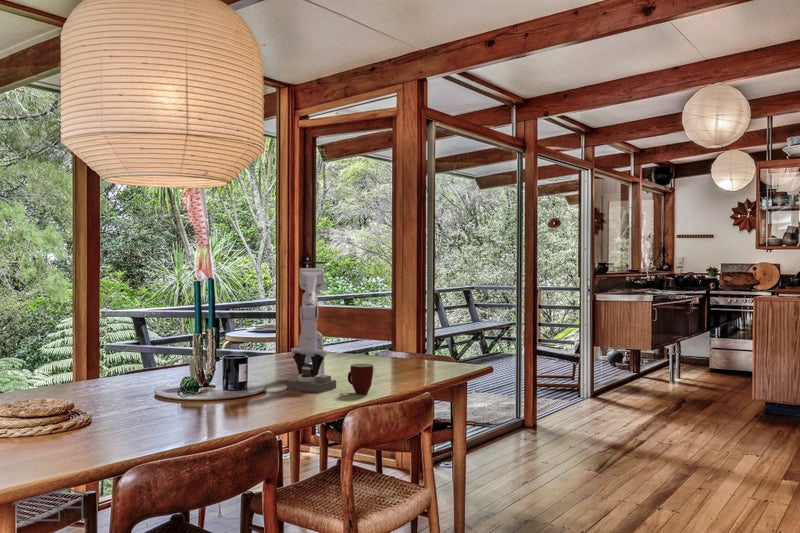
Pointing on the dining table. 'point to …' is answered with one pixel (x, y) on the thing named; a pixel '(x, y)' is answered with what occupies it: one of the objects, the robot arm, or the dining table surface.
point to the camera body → (312, 383)
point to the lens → (307, 370)
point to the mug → (361, 377)
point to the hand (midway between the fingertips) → (308, 374)
